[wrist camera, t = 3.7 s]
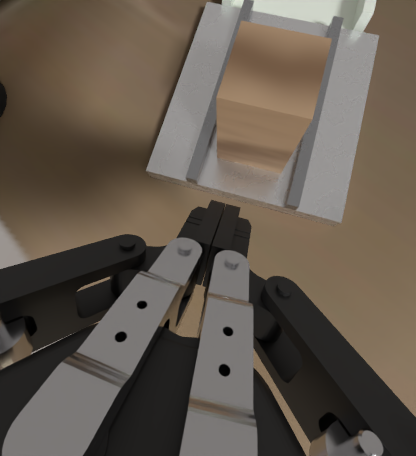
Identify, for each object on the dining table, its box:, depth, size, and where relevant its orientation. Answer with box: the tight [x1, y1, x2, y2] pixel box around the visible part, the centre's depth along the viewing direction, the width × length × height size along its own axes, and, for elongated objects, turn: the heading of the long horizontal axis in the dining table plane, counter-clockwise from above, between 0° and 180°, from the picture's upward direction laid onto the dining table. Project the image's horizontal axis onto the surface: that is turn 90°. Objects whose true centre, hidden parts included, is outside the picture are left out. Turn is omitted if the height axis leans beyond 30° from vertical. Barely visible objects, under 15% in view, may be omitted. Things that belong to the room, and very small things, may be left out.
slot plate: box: [146, 0, 379, 226], centre depth 25 cm, size 20×18×2 cm
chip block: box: [216, 21, 332, 174], centre depth 20 cm, size 6×6×8 cm
